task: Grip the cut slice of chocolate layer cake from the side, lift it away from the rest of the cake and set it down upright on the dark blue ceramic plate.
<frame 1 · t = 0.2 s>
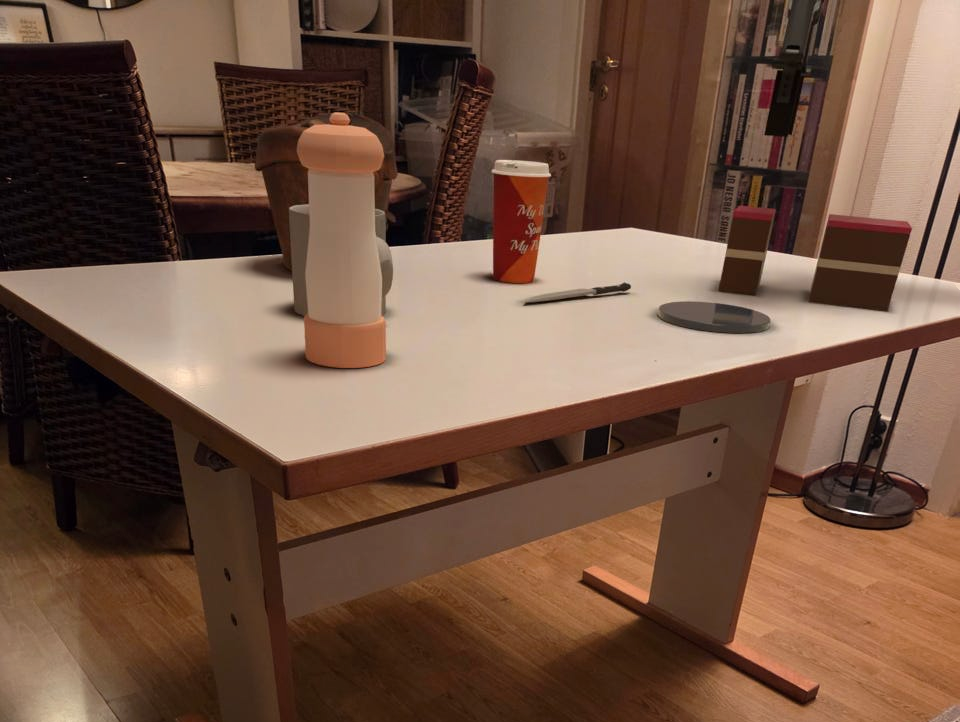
hand: (778, 135, 108), 19 cm above the table, tool pointing down, fingers open, 13 cm apart
cake slice: (739, 288, 121), on the table
salt shaker: (346, 359, 79), on the table
cake: (847, 301, 118), on the table
cake plate: (712, 319, 102), on the table
flower pot: (331, 270, 116), on the table
paper cup: (513, 280, 117), on the table
chef's knife: (572, 297, 109), on the table
coffee mug: (346, 316, 94), on the table
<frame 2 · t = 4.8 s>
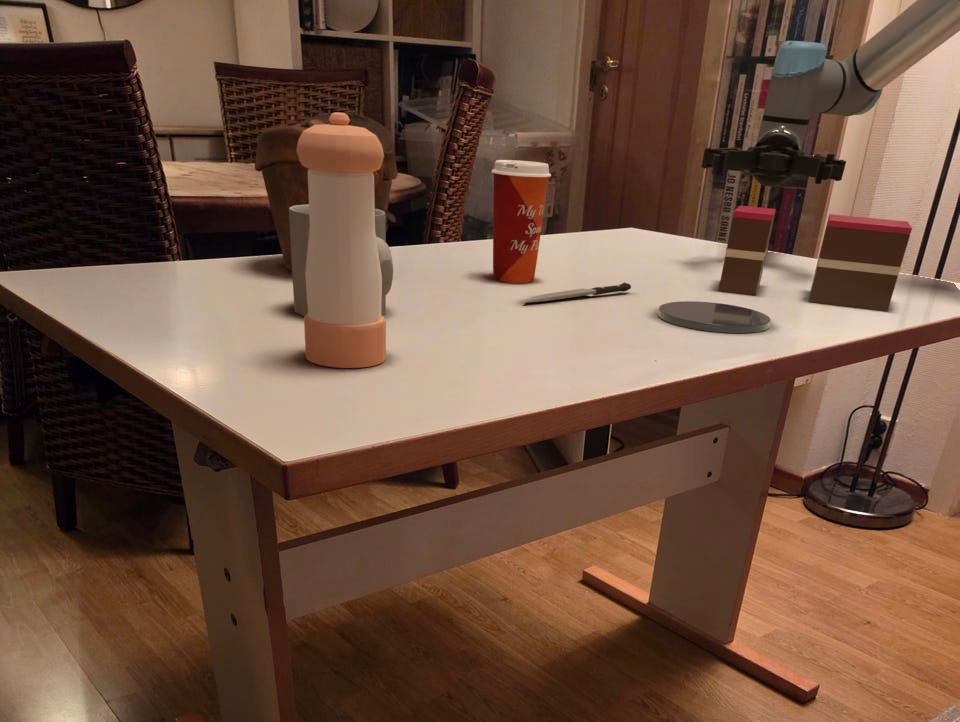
hand: (770, 168, 121), 15 cm above the table, tool horizontal, fingers open, 13 cm apart
nothing on the table moved.
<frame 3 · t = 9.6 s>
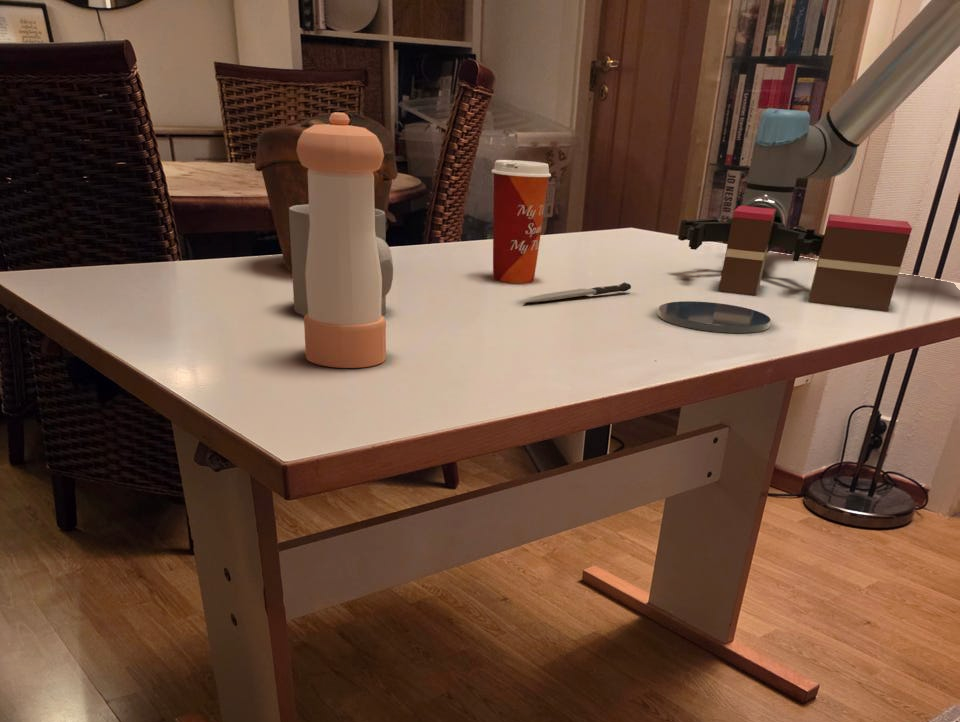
hand: (745, 244, 116), 6 cm above the table, tool horizontal, fingers open, 13 cm apart
nothing on the table moved.
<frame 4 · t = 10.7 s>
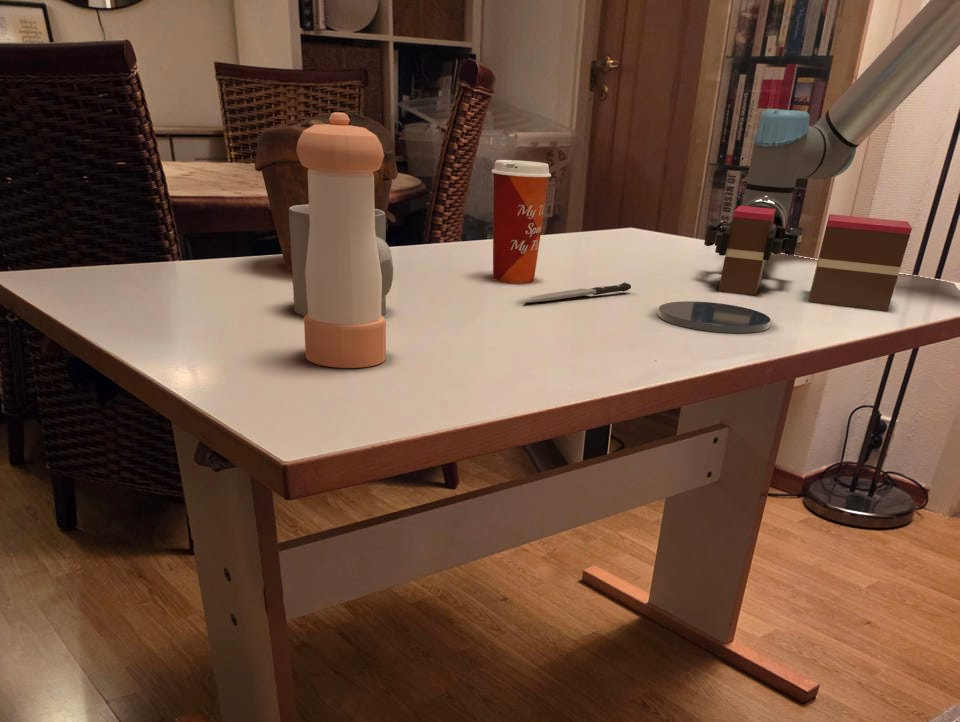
hand: (745, 246, 114), 6 cm above the table, tool horizontal, fingers closed on cake slice, 5 cm apart
cake slice: (739, 288, 121), on the table, touching gripper
everything else where it was.
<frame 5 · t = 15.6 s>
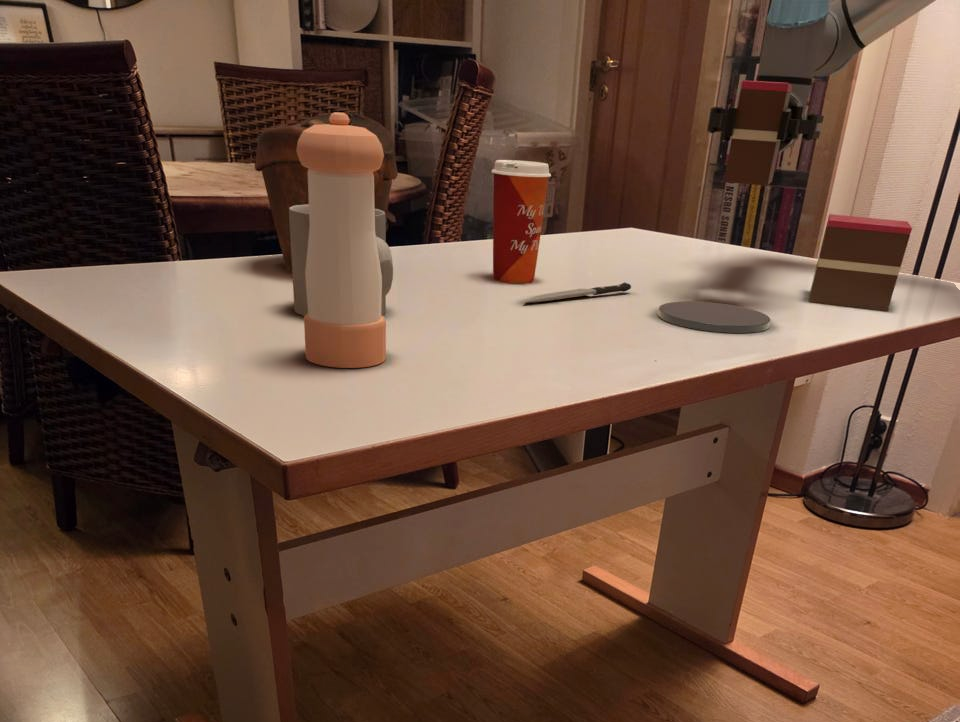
hand: (756, 123, 96), 20 cm above the table, tool horizontal, fingers closed on cake slice, 5 cm apart
cake slice: (748, 181, 103), point 14 cm above the table, touching gripper
everything else where it was.
when the fingers open (7 cm above the table, at t = 21.0 s): cake slice stays where it is, resting on cake plate.
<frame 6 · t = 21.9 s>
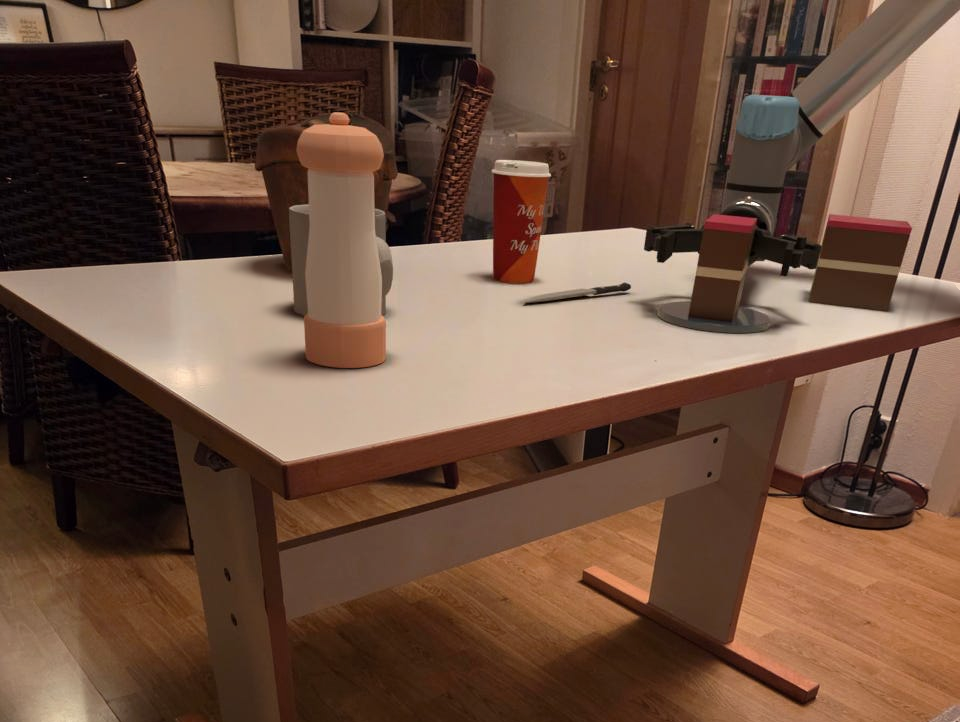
hand: (723, 256, 95), 7 cm above the table, tool horizontal, fingers open, 13 cm apart
cake slice: (713, 312, 102), point 1 cm above the table, touching cake plate
everything else where it was.
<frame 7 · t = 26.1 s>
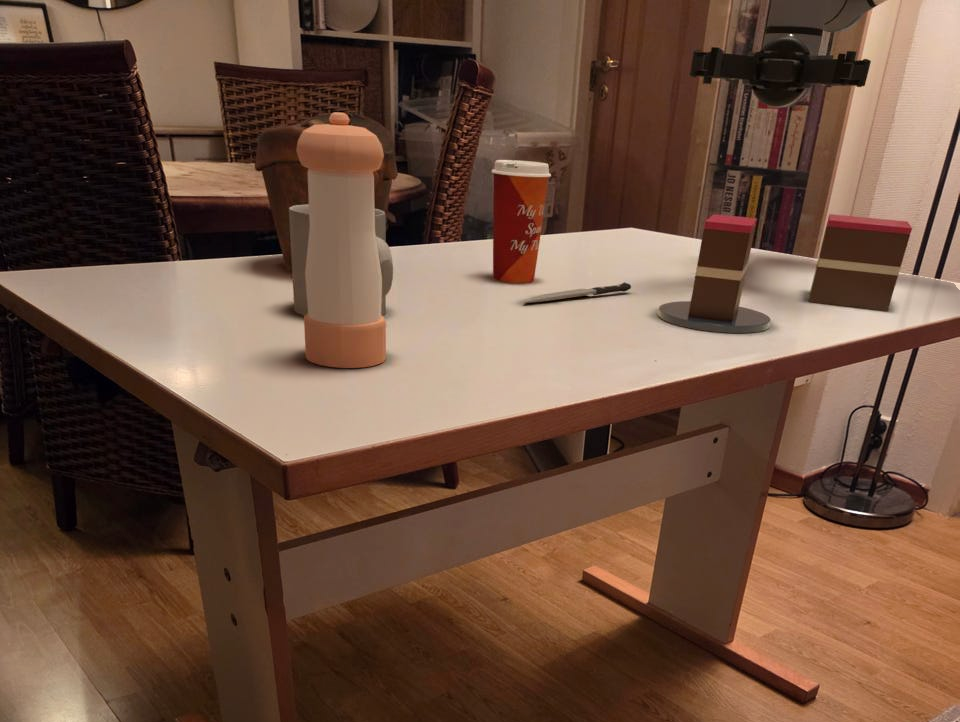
hand: (774, 65, 95), 26 cm above the table, tool horizontal, fingers open, 13 cm apart
nothing on the table moved.
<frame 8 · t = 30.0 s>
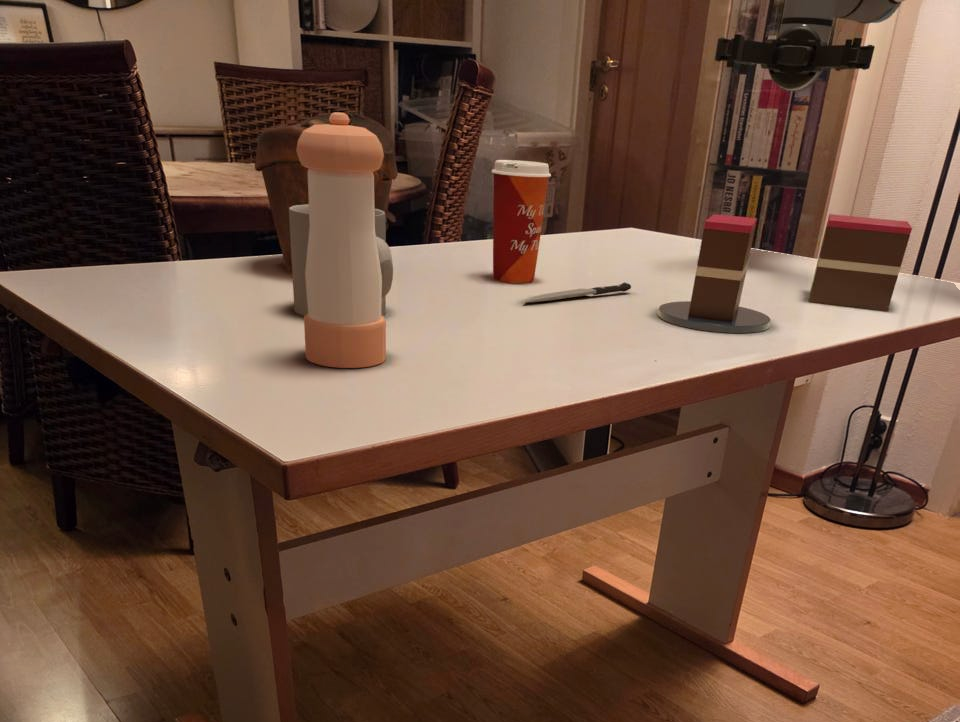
hand: (790, 49, 109), 28 cm above the table, tool horizontal, fingers open, 13 cm apart
nothing on the table moved.
at the end: cake slice 0.0 cm off-centre on the cake plate, point 0.8 cm above the cake plate's base; cake slice tilted 0°; cake slice touching cake plate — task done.
